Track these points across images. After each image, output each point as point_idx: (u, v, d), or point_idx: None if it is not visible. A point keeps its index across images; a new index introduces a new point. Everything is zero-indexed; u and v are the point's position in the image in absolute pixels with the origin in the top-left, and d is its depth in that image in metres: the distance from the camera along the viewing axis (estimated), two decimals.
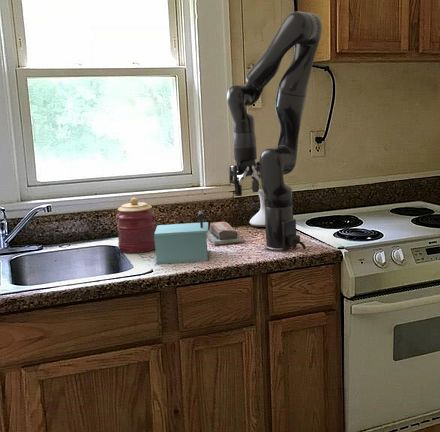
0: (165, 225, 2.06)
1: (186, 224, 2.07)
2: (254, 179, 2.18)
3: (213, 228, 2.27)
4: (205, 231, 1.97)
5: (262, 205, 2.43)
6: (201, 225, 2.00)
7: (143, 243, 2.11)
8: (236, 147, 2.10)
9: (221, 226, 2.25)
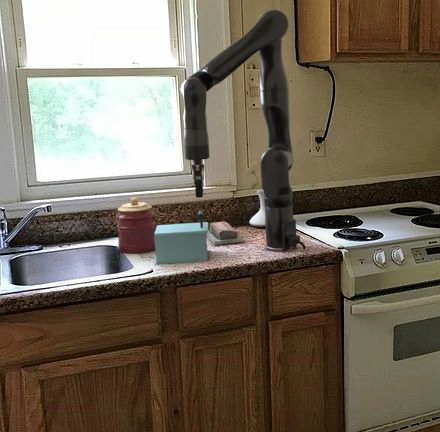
0: (165, 225, 2.06)
1: (186, 224, 2.07)
2: (198, 179, 2.04)
3: (213, 228, 2.27)
4: (205, 231, 1.97)
5: (262, 205, 2.43)
6: (201, 225, 2.00)
7: (143, 243, 2.11)
8: (194, 145, 1.94)
9: (221, 226, 2.25)
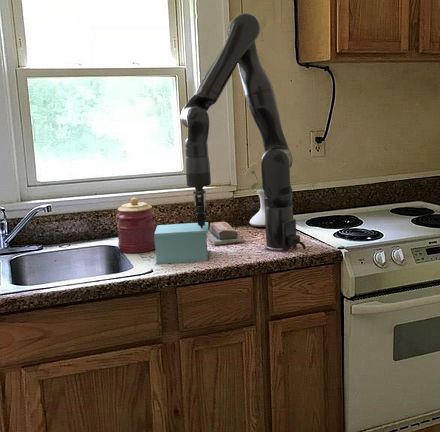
0: (165, 225, 2.06)
1: (186, 224, 2.07)
2: (200, 208, 2.04)
3: (213, 228, 2.26)
4: (205, 231, 1.97)
5: (262, 205, 2.43)
6: None
7: (143, 243, 2.11)
8: (196, 172, 1.96)
9: (221, 226, 2.25)
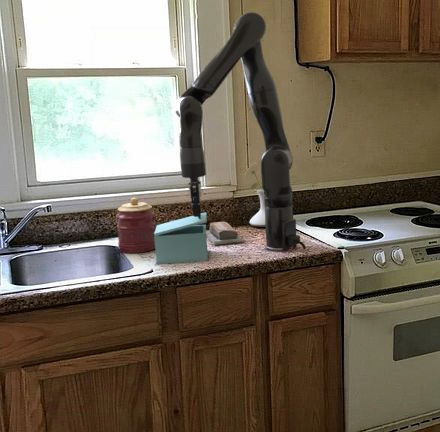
0: (164, 223, 2.06)
1: (185, 218, 2.06)
2: (195, 199, 2.04)
3: (213, 228, 2.26)
4: (203, 221, 1.96)
5: (262, 205, 2.43)
6: (199, 216, 2.00)
7: (143, 243, 2.11)
8: (191, 163, 1.95)
9: (221, 226, 2.25)
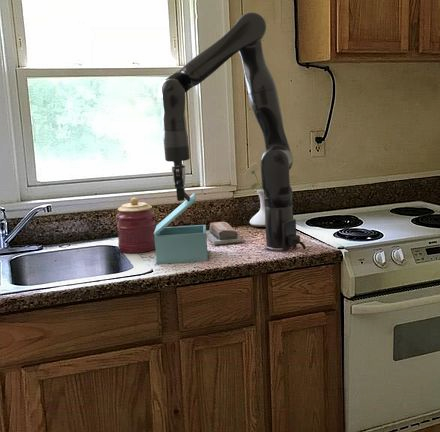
0: (162, 220, 2.06)
1: (178, 207, 2.05)
2: (180, 183, 2.02)
3: (213, 228, 2.26)
4: (192, 201, 1.95)
5: (262, 205, 2.43)
6: (187, 199, 1.98)
7: (143, 243, 2.11)
8: (174, 146, 1.93)
9: (221, 226, 2.25)
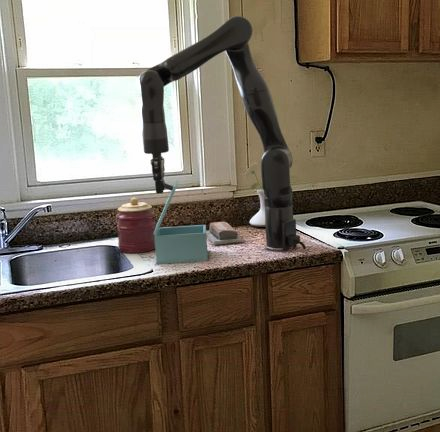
0: (159, 219, 2.06)
1: None
2: (159, 176, 2.01)
3: (213, 228, 2.26)
4: (174, 188, 1.93)
5: (262, 205, 2.43)
6: (169, 188, 1.97)
7: (143, 243, 2.11)
8: (152, 138, 1.92)
9: (221, 226, 2.25)
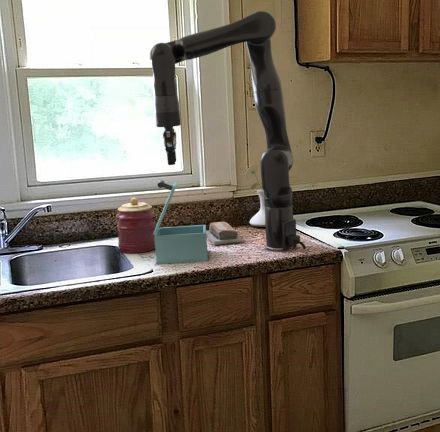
0: None
1: None
2: None
3: (213, 228, 2.26)
4: (173, 188, 1.93)
5: (262, 205, 2.43)
6: (169, 188, 1.97)
7: (143, 243, 2.11)
8: (165, 111, 1.92)
9: (221, 226, 2.25)
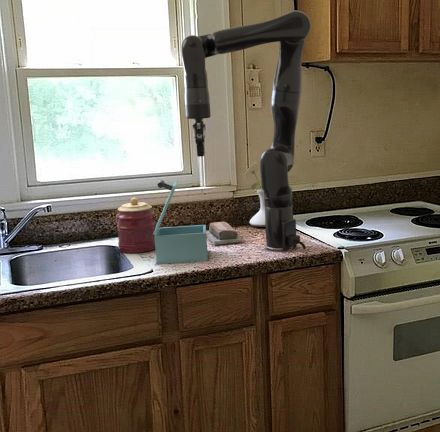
0: None
1: None
2: None
3: (213, 228, 2.26)
4: (173, 188, 1.93)
5: (262, 205, 2.43)
6: (169, 188, 1.97)
7: (143, 243, 2.11)
8: (195, 103, 1.94)
9: (221, 226, 2.25)
